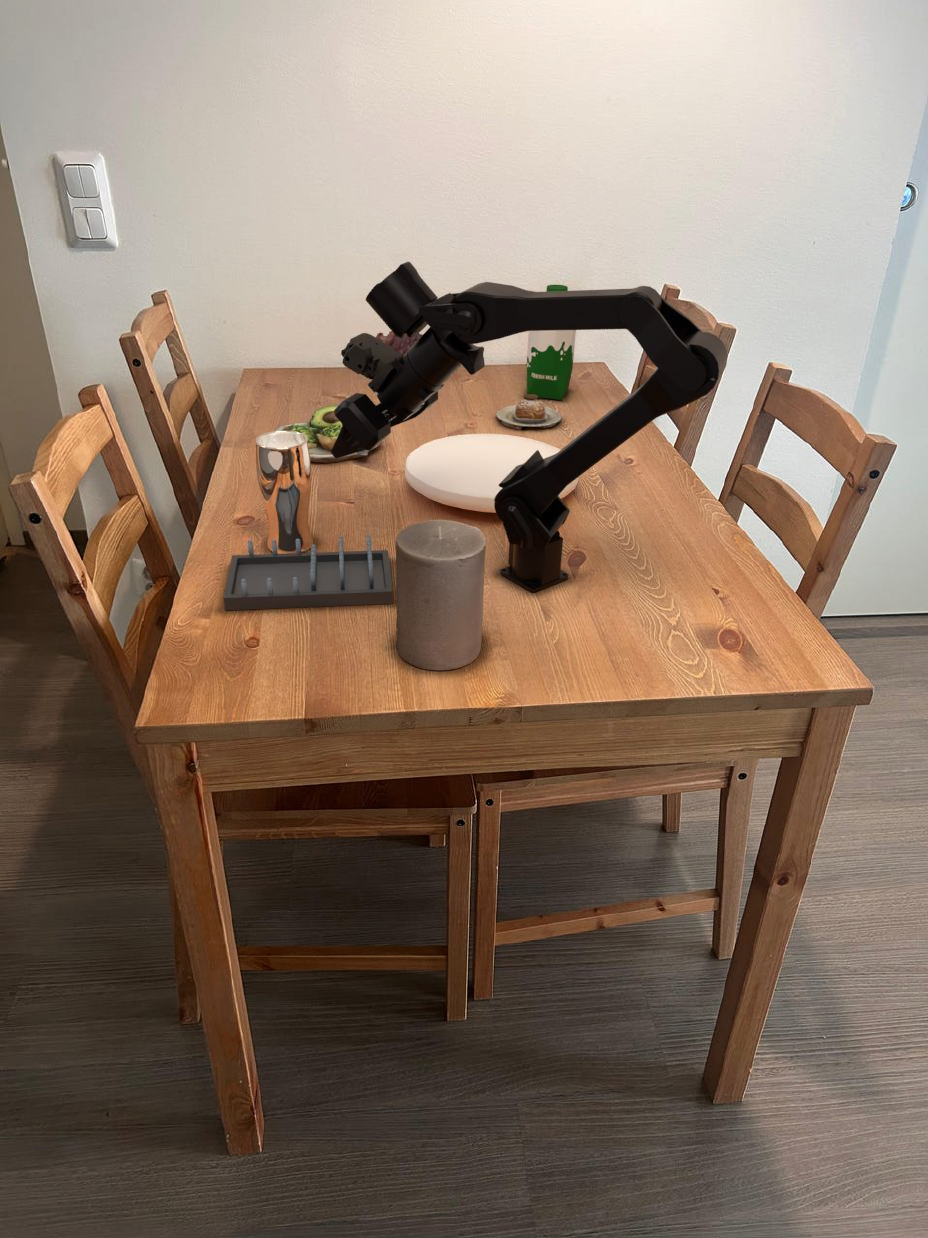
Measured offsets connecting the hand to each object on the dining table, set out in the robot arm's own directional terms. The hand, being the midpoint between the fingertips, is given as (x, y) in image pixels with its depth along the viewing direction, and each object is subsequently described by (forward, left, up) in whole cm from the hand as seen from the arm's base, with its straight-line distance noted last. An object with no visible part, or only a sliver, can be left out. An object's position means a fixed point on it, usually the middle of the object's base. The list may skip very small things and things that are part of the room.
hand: (350, 443), depth 121 cm
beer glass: (+4, +8, -14) cm, 17 cm away
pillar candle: (-29, +7, -14) cm, 33 cm away
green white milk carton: (+32, -66, -14) cm, 75 cm away
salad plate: (+33, -17, -14) cm, 40 cm away
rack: (-8, +12, -14) cm, 20 cm away
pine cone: (+57, -52, -14) cm, 78 cm away
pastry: (+22, -53, -14) cm, 59 cm away
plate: (+2, -27, -14) cm, 30 cm away
